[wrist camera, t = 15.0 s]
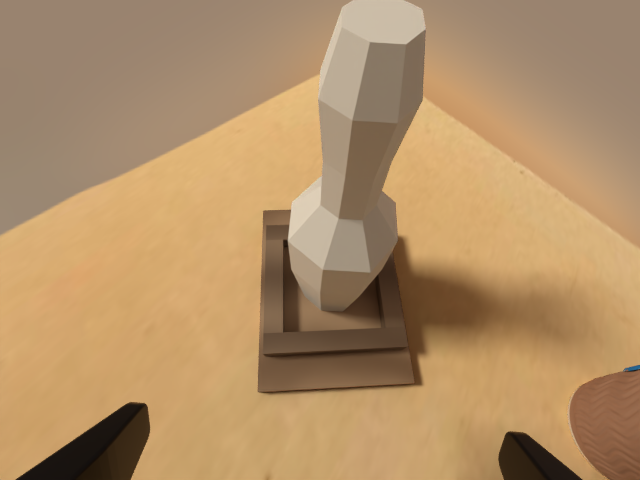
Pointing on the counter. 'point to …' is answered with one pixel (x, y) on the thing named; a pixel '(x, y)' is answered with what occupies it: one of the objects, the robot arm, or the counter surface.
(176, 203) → the counter surface
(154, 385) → the counter surface
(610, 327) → the counter surface
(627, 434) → the coffee cup
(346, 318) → the brown wooden tray
